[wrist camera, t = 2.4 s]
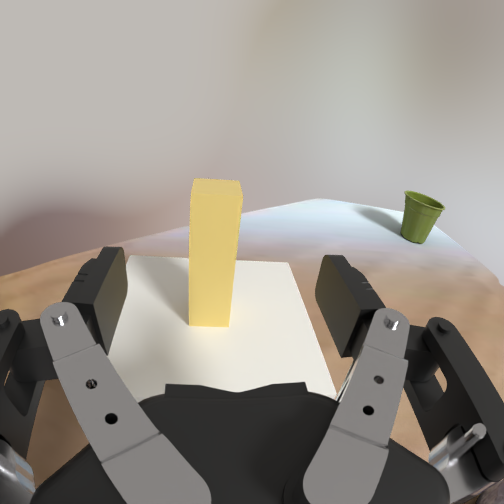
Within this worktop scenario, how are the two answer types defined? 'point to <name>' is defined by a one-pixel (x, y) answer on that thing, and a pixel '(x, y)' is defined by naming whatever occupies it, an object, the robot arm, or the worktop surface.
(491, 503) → the geode
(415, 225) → the plant pot
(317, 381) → the lid
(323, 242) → the worktop surface
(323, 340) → the worktop surface
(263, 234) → the worktop surface
